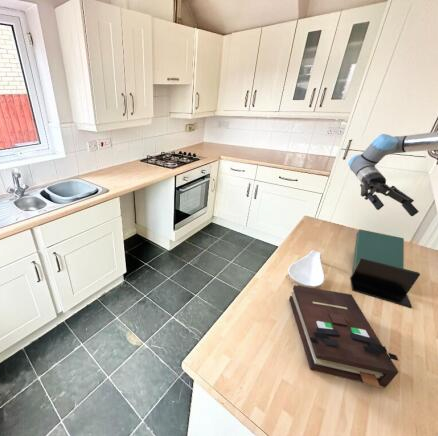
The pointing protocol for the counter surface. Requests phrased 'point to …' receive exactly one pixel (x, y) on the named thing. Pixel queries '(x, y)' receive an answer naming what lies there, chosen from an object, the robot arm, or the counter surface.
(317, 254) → the spoon rest
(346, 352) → the decorative book
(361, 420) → the counter surface
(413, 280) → the bookend
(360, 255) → the book
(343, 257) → the counter surface
